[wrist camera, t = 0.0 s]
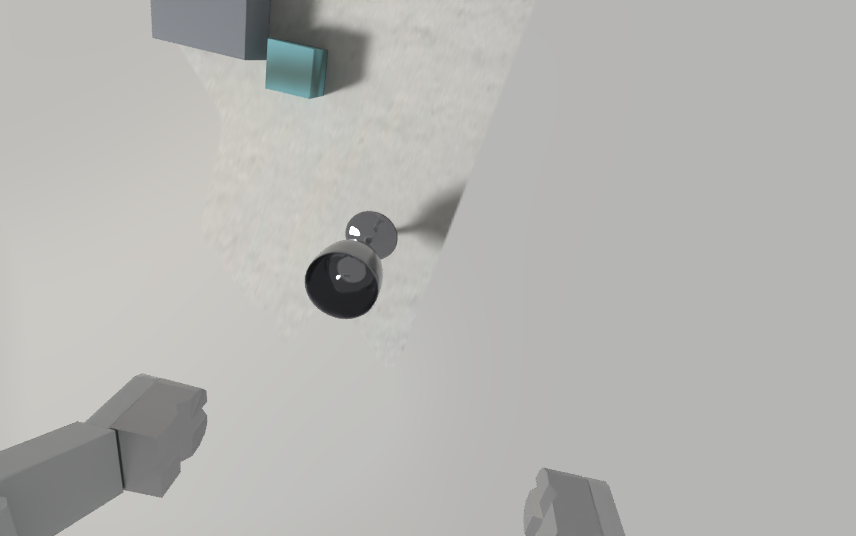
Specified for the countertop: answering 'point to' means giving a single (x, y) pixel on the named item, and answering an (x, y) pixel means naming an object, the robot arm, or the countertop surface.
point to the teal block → (295, 68)
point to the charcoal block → (215, 25)
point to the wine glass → (352, 267)
